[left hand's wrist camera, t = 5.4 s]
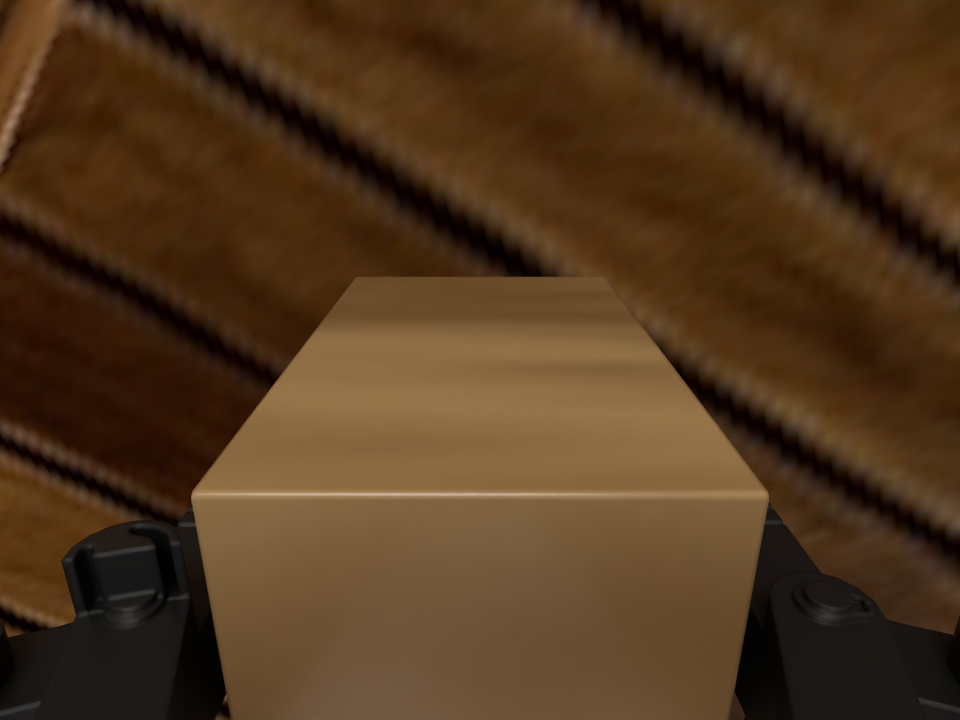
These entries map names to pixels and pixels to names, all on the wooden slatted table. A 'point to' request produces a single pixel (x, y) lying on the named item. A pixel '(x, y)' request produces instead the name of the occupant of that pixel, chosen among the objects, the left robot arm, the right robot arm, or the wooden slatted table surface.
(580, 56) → the wooden slatted table surface
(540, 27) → the wooden slatted table surface
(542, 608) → the bar
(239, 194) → the wooden slatted table surface
